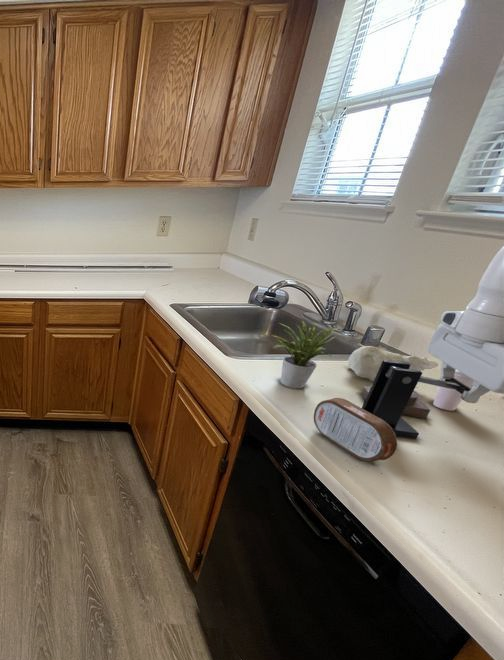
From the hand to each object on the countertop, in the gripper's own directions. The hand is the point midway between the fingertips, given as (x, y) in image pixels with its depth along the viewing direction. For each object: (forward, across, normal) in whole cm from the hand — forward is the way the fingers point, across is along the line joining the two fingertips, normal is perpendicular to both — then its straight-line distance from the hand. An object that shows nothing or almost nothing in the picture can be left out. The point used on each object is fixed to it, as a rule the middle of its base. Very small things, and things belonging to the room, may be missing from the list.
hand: (455, 393), depth 83 cm
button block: (+9, +11, +3) cm, 14 cm away
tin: (+10, -11, +21) cm, 26 cm away
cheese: (+10, +27, -3) cm, 29 cm away
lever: (-1, 0, +6) cm, 6 cm away
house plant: (+10, +18, +21) cm, 29 cm away
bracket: (+9, 0, +10) cm, 14 cm away
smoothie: (+9, +14, -9) cm, 19 cm away
